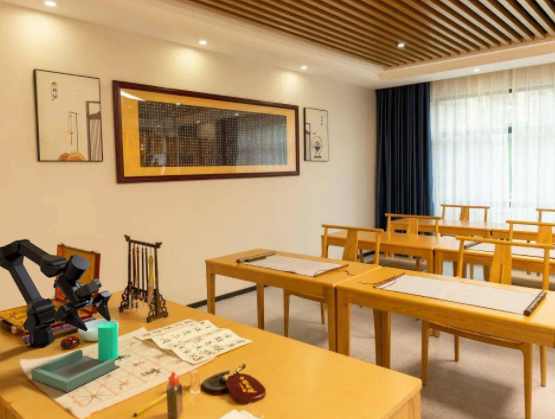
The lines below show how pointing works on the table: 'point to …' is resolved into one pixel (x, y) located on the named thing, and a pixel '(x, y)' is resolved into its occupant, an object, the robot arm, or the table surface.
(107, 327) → the candle
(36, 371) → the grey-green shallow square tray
